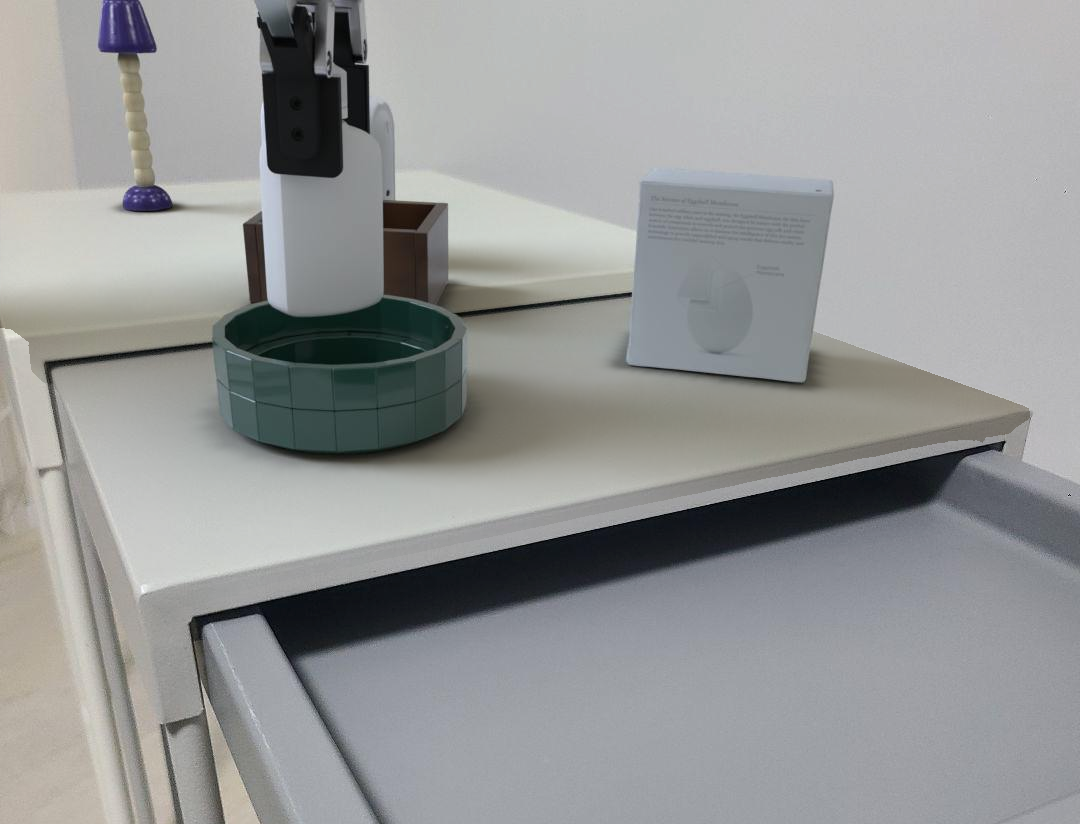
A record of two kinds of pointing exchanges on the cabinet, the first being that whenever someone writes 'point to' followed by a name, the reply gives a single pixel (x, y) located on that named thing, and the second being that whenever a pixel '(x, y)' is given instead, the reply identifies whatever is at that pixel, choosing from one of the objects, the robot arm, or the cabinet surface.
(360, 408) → the bowl
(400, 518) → the cabinet surface
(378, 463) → the cabinet surface
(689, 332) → the cosmetics box
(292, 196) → the eye dropper bottle
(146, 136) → the toy lamp
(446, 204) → the holder
